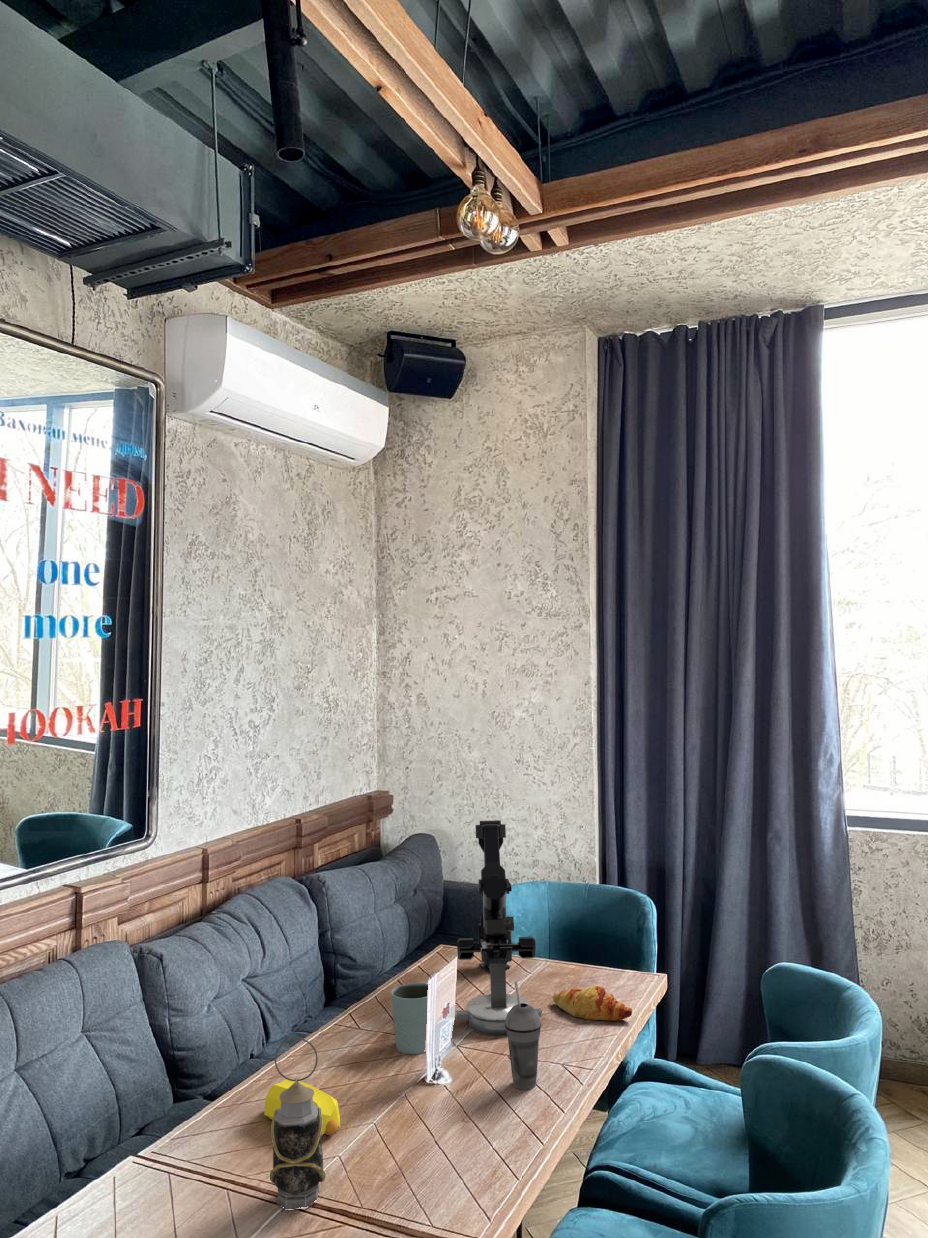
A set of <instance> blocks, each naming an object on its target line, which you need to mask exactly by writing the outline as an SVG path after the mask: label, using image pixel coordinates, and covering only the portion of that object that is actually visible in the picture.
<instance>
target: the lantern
mask: <svg viewBox="0 0 928 1238" xmlns="http://www.w3.org/2000/svg"><path fill="white" fill-rule="evenodd" d="M293 1040H299V1041H303V1042H306V1043H307V1044H308V1045H310V1046H311V1048H312V1049H313V1051H314V1053H315V1065H314V1067H313V1069H312V1070H311V1072H310V1073H309V1074H308V1075H307V1076H305V1077H302V1078H298V1077H296V1078H295V1079H293V1078H290V1079H289V1077H287V1076H285V1075H284V1074H283V1073H282V1072H281V1071H280V1069H279V1068H278V1065H277V1056H278V1053H279V1051H280V1049H281V1048H282V1046H284V1045H285V1044H286V1043H287V1042H291V1041H293ZM318 1061H319V1059H318V1052H317V1050H316V1047H315V1046H314V1045H313V1044H312V1043H311V1042H310V1041H308V1040H307V1039H304V1038H302V1037H292V1038H289V1039H286V1040H285V1041H283V1042H282V1043H281V1044H280V1045H279V1046H278V1048H277V1050H276V1052H275V1055H274V1065H275V1069H276V1070H277V1072H278V1074H279V1075H280V1076H281V1077H282V1078H283V1079H284V1080H285V1079H287V1080H290V1081H295V1083H294V1084H293V1085H292V1086H290V1087H289V1088H288V1089H286V1090H284V1091H283V1092H282V1093H281V1094H280V1096H279V1099H280V1100H281V1108H279V1109H276V1110H275V1111H274V1116H273V1120H271V1126H270V1136H271V1142H272V1146H273V1147H272V1149H273V1150H272V1169H271V1170H270V1172H269V1180H270V1182H271V1183H272V1184H273V1185H275V1187H276V1188H277V1193H278V1194H277V1205H278V1204H279V1205H281V1206H282V1207H284V1209H292V1208H293V1209H295V1208H299V1207H300V1208H301V1207H307V1206H309V1205H310V1204H311V1203H312V1202H314V1201H315V1200H317V1198H318V1199H319V1197H318V1193H319V1194H320V1183H323V1182H325V1180H326V1172H325V1171H324V1155H323V1135H322V1126H323V1119H322V1109H321V1108H320V1107H318V1106H316V1105H314V1104H313V1095H314V1090H313V1089H311V1088H308V1087H305V1086H304V1085H302V1084H301V1083H299V1082H298V1081H300V1082H303V1081H304V1080H306V1079H308V1078H310V1077H311V1076H312V1074H314V1072H315V1070H316V1069H317V1067H318V1066H317V1065H318ZM284 1209H283V1210H284Z"/></svg>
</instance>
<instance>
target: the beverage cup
mask: <svg viewBox="0 0 928 1238" xmlns="http://www.w3.org/2000/svg"><path fill="white" fill-rule="evenodd" d="M514 987H515V995H517V1002H518V1004H516V1005H515V1006H513V1007H512V1008H511V1009H510V1010H509V1012H508V1014H507V1016H506V1023H505V1028H506V1033H507V1035H506V1037H507V1041H508V1049H509V1050H508V1051H509V1061H510V1069H511V1076H512V1077H511V1079H512V1082H513V1085H512V1086H513V1087H514V1088H516V1089H518V1090H523V1091H525V1090H532V1089H534V1088H536V1086H537V1077H538V1063H539V1062H538V1061H539V1044H540V1043H539V1042H540V1035H541V1028H542V1022H541V1019H540V1018H541V1017H539V1015H538V1013H537V1011H536V1010H535V1009H536V1008H535V1007H533V1005H531V1004H530V1005H529V1004H526V1003H520V998H519V996H520V993H519V984H518V981H517V980H516V981H514Z"/></svg>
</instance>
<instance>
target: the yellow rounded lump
mask: <svg viewBox="0 0 928 1238" xmlns="http://www.w3.org/2000/svg"><path fill="white" fill-rule="evenodd" d="M288 1078H289V1077H288ZM289 1079H291V1078H289ZM298 1082H299V1083H301V1084H302V1085H304V1086H305V1087H308V1088H311V1089H313V1090H314V1095H313V1104H314V1105H316V1106H318V1107H320V1108H321V1109H322V1119H323V1126H322V1136H324V1135H326V1136H332V1135H335V1134H336V1132H337V1131H338V1128H341V1116H340V1110H339V1103H338V1100H337V1099H336V1098H334V1097H333V1096H332V1095H330V1094H328V1093H326V1092H324V1091H323V1090H320V1089H318V1088H316V1087H315V1086H313V1085H311V1084H310V1083H307V1082H303V1081H298ZM294 1083H295V1081H290V1080H287V1079H285V1078H284V1079H283V1080H282V1081H281V1082H278V1083H273V1084H272V1086H271V1087H270V1088H269V1089H268V1091H267V1092H266V1093H267V1094H266V1097H265V1104H264V1105H265V1106H264V1112H263V1113H264V1114H263V1115H264V1116H266V1117H267V1118H268V1119H269V1120H271V1121H272V1120H273V1116H274V1111H275V1110H276V1109H279V1108H281V1100H280V1099H279V1096H280V1094H281V1093H282V1092H283V1091H284V1090H286V1089H288V1088H289V1087H290V1086H292V1085H293V1084H294Z"/></svg>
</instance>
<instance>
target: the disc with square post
mask: <svg viewBox="0 0 928 1238" xmlns="http://www.w3.org/2000/svg"><path fill="white" fill-rule="evenodd" d="M506 970H507V969H505V959H490V972H489V975H490V976H489V979H490V981H489V983H490V993H489V994H487V993H486V994H483V995H479V996H477V997H473V998H471V999H470V1000H469V1001H468V1003H467V1004H466V1005H467V1006H466V1007H467V1008H466V1010H467V1011H468V1013H469V1014H470V1015H472V1016H474V1017H476V1018H479V1019H483V1020H490V1021H506V1016H507V1014H508V1012H509V1010H510V1009H511V1008H512V1007H513V1006H515V1005H516V1004H518V1002H517V995H516V994H511V993H507V977H506V976H507V975H506ZM519 998H520V1003H526V1004H529V1005H531V1003H530V1001H529V1000H528V999H527V998H524V997H523V996H520V995H519Z"/></svg>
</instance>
